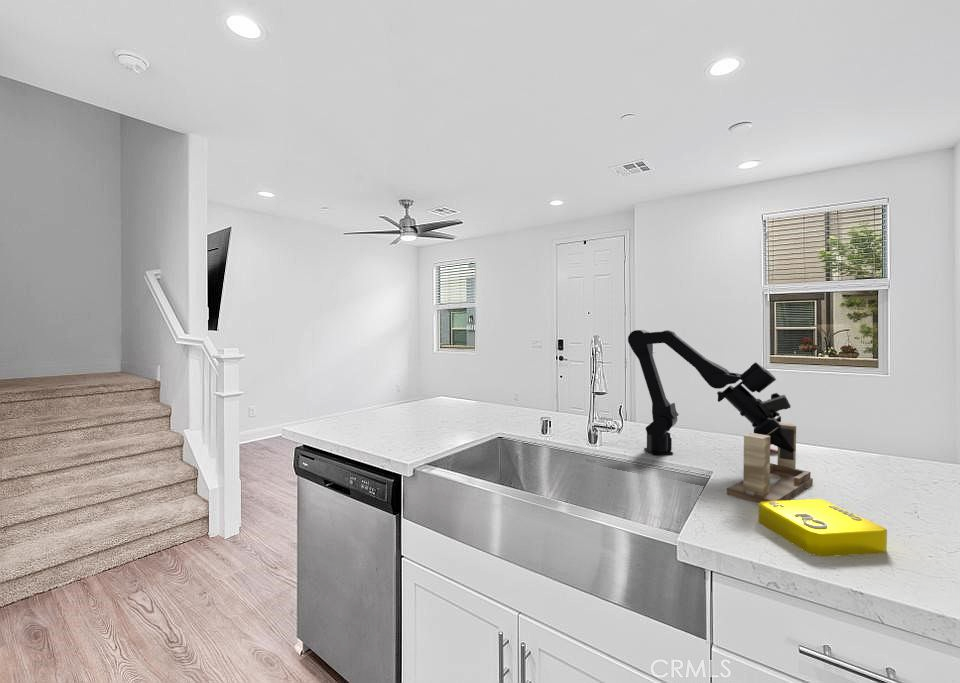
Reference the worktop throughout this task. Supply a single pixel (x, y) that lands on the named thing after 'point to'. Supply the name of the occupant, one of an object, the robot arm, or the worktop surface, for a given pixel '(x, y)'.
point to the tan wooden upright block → (790, 434)
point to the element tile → (822, 527)
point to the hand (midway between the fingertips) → (792, 447)
